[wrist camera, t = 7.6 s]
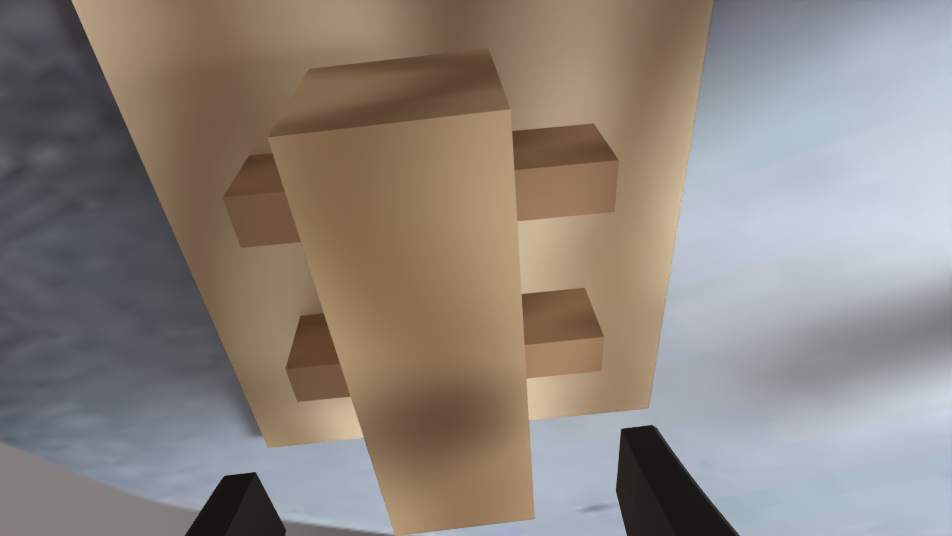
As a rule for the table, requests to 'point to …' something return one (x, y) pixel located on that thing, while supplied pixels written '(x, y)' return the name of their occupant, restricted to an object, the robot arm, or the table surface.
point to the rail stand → (535, 165)
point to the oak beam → (419, 275)
